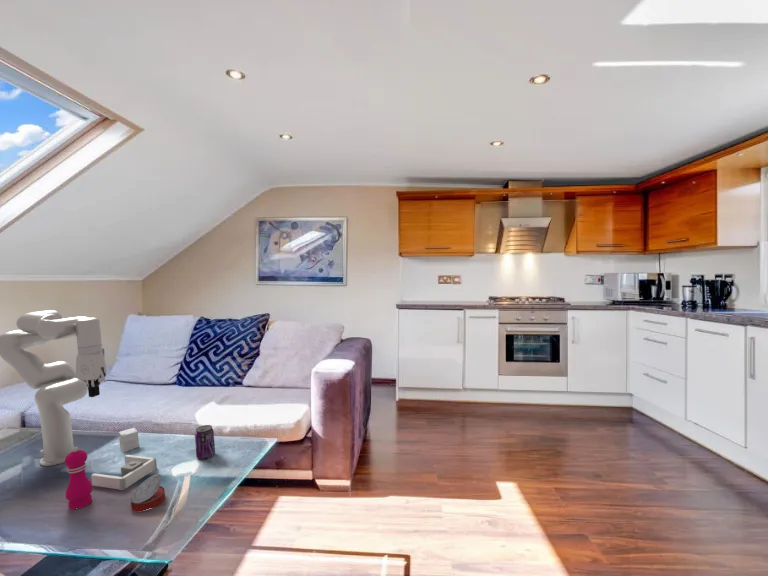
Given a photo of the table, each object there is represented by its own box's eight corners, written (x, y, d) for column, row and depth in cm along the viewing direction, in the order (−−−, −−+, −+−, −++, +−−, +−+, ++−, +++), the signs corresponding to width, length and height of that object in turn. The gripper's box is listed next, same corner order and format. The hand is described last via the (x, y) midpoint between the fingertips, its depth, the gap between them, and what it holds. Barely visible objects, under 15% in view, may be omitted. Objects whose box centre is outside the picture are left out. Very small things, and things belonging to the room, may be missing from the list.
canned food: (161, 518, 133) (157, 501, 128) (127, 520, 130) (122, 503, 125) (171, 486, 142) (168, 469, 137) (139, 487, 140) (135, 470, 135)
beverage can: (208, 461, 160) (206, 432, 159) (192, 459, 162) (190, 431, 161) (218, 452, 167) (216, 424, 166) (203, 451, 169) (201, 424, 168)
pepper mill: (76, 498, 137) (71, 442, 136) (98, 496, 138) (93, 441, 136) (61, 511, 130) (55, 452, 129) (84, 509, 131) (79, 451, 129)
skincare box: (135, 442, 178) (134, 427, 178) (139, 447, 174) (138, 430, 174) (119, 447, 174) (118, 431, 173) (123, 452, 170) (121, 435, 169)
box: (92, 485, 145) (91, 475, 145) (127, 464, 160) (127, 454, 159) (123, 490, 142) (122, 479, 141) (156, 468, 156) (156, 458, 156)
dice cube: (132, 481, 147) (131, 468, 146) (121, 480, 148) (120, 467, 148) (144, 474, 152) (142, 462, 151) (133, 473, 153) (132, 460, 153)
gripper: (65, 351, 152) (69, 398, 154) (96, 352, 149) (100, 400, 150) (84, 347, 160) (88, 391, 161) (114, 348, 156) (118, 393, 157)
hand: (94, 395), depth 156 cm, fingers closed
